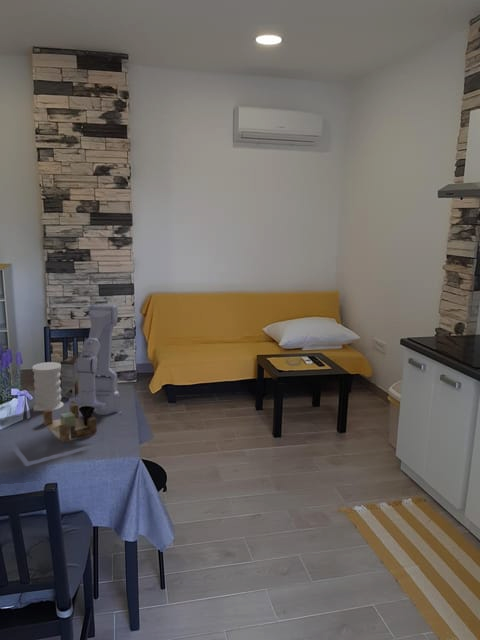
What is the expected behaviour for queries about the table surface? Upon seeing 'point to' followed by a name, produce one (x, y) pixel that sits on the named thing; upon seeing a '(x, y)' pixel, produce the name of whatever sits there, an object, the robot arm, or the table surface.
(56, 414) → the table surface
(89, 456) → the table surface
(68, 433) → the stool board
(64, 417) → the lock block
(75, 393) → the coffee box
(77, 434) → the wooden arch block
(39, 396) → the decorative container
